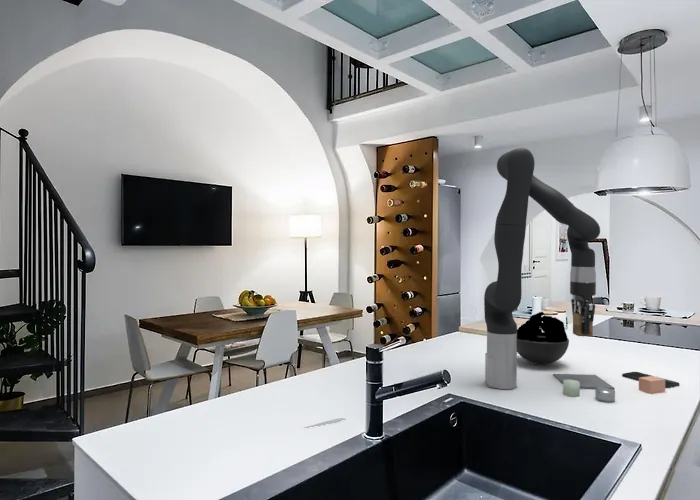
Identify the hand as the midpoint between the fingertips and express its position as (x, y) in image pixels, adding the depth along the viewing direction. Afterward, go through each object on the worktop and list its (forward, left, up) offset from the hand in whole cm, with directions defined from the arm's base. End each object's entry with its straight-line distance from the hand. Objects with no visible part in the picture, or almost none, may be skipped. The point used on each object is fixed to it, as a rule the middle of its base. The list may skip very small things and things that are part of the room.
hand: (582, 332), depth 152 cm
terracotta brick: (+18, -7, -17) cm, 25 cm away
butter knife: (-84, -47, -17) cm, 98 cm away
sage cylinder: (-8, -13, -17) cm, 22 cm away
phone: (+23, +4, -17) cm, 29 cm away
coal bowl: (-7, +22, -17) cm, 28 cm away
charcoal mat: (0, 0, -16) cm, 16 cm away
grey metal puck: (0, -17, -17) cm, 24 cm away
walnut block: (0, 0, -1) cm, 1 cm away
